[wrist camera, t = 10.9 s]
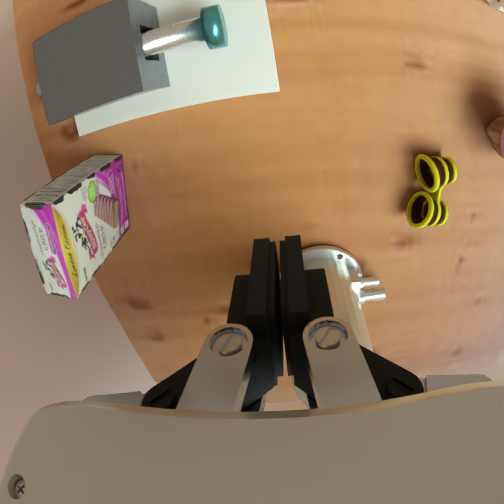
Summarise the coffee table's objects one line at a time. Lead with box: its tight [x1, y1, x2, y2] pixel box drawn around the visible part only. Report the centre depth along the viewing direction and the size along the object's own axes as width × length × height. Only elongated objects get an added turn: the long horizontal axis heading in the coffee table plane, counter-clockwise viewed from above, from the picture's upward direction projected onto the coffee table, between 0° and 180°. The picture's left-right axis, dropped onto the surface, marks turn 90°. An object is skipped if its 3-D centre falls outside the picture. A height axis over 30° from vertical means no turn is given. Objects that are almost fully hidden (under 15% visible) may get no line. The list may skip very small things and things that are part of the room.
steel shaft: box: [35, 4, 228, 98], centre depth 25 cm, size 23×5×5 cm, turn 99°
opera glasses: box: [406, 154, 457, 228], centre depth 34 cm, size 10×5×5 cm, turn 2°
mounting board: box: [74, 0, 280, 136], centre depth 29 cm, size 26×16×1 cm, turn 99°
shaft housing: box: [33, 0, 170, 126], centre depth 26 cm, size 12×10×8 cm
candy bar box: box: [20, 155, 130, 299], centre depth 33 cm, size 11×5×16 cm, turn 177°
